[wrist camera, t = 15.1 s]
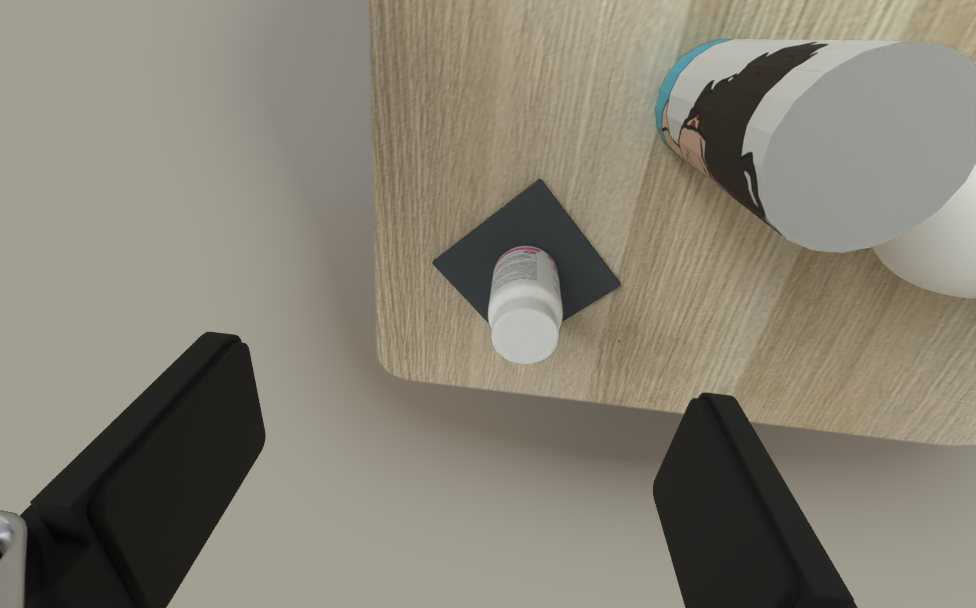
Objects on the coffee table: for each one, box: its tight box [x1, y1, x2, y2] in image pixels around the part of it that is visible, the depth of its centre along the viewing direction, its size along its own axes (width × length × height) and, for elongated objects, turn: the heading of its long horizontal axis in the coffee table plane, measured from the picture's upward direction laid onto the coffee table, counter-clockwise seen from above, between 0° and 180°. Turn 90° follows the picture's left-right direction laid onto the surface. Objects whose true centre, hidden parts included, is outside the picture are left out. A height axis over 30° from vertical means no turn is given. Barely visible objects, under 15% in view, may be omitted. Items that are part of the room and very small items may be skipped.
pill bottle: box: [488, 246, 563, 364], centre depth 31 cm, size 5×5×8 cm
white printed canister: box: [655, 39, 976, 253], centre depth 22 cm, size 7×7×15 cm
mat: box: [433, 179, 621, 323], centre depth 35 cm, size 10×10×1 cm
